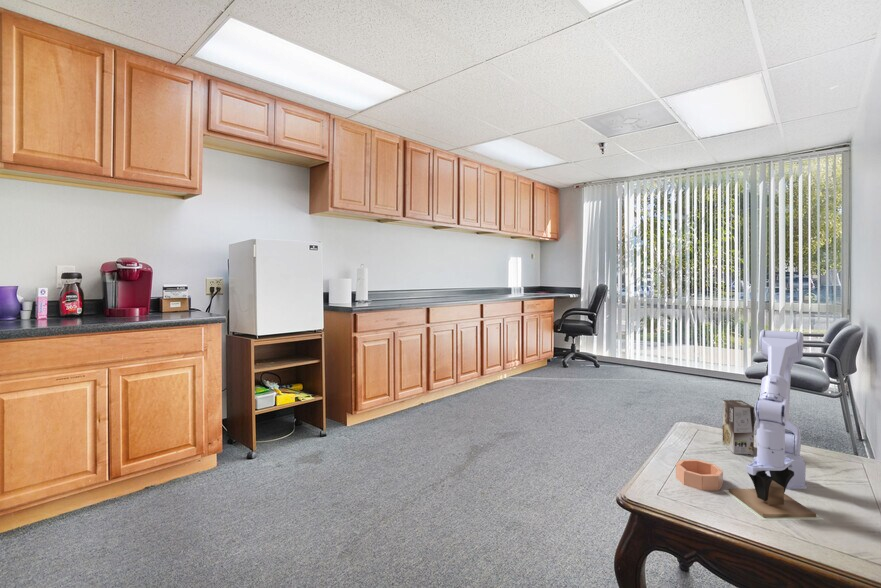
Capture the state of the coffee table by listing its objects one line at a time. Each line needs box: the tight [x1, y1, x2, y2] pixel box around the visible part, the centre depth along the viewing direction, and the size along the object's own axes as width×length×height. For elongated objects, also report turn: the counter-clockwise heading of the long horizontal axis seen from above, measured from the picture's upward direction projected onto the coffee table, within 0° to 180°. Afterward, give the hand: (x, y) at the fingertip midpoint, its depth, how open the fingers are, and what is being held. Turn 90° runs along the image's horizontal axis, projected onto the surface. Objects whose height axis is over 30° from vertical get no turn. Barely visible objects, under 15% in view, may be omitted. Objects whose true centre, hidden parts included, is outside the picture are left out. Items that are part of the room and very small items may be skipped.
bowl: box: [675, 459, 724, 491], centre depth 128 cm, size 11×11×4 cm
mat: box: [722, 489, 824, 521], centre depth 114 cm, size 15×15×1 cm
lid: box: [728, 480, 817, 518], centre depth 114 cm, size 13×13×5 cm
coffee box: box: [722, 399, 755, 456], centre depth 151 cm, size 9×6×16 cm
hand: (770, 497), depth 114 cm, fingers closed on lid, 5 cm apart
